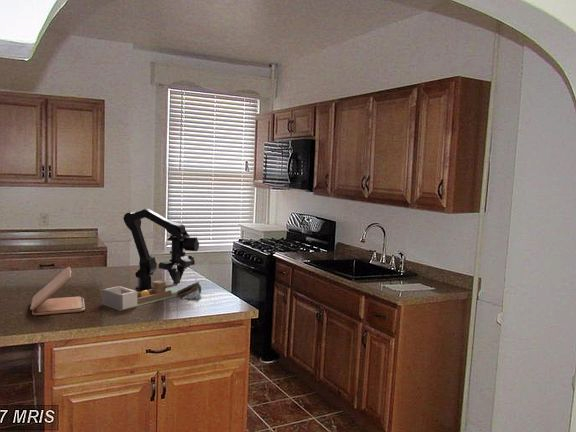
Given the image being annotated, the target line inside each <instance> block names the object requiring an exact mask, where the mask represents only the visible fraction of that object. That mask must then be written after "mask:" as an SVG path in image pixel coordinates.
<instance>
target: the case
mask: <svg viewBox="0 0 576 432" xmlns="http://www.w3.org/2000/svg"><path fill="white" fill-rule="evenodd" d="M72 275H73V271H72V270H71V267H70V266H68V267H66V268H64V269H63V270H62V271H61V272H60V273H59V274H57V275H56V276H55V277H54V278H53V279H52V280H51V281H50V282H49V283H47V284H46V285H45V286H44V287H43V288H42V289H40V290H39V291H38V292H37V293H36V294H35V295H33V297H32V298H31V304H30V307H29V309H30V310H31V311H32V312H31V313H32V315H33V316H45V315H46V316H47V315H55V314H56V315H58V314H69V313H70V314H71V313H82V312H84V311H85V310H86V305H85V304H86V303H85V298H84V297H82V296H77V295H76V296H65V297H63V296H62V297H53V298H50V297H52V296H53V295H54V294H55V293H56V292H58V291H59V290H60V289H61V288H63V287H64V286H65V285H66V284H68V283H69V281H70V280H71V278H72Z"/></svg>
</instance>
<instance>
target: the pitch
mask: <svg viewBox="0 0 576 432" xmlns="http://www.w3.org/2000/svg"><path fill="white" fill-rule="evenodd" d="M146 290H147V291H149V294H150V295H148V296H144V297H141V292H142V291H143V290H142V291H137V306H134V307H130V308H126V309H122V310H119V309H116V308H113V307H110V306H108V305H105V304H102V305H103V306H106V307H109V308H111V309H115V310H118V311H120V312H121V311H124V310H129V309H132V308H136V307H141V306H145V305H147V304H152V303H156V302H159V301H164V300H168V299H171V298H175V297H176V298H177V297H179V296H178V295H177V291H179V290H181V289H180V288H177V287H176V288H175V287H174V286H173V287H168V288H166V290H165V292H161V293H157V294H152V288H150V289H146Z"/></svg>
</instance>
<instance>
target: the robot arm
mask: <svg viewBox="0 0 576 432" xmlns="http://www.w3.org/2000/svg"><path fill="white" fill-rule="evenodd" d="M145 218H146V219H147V220H149V221H150V222H151V221H152V222H153V223H154V224H156V225H159V226H160V227H162V228H164V230H165V231H167V233H168V234H169V235H170V236H169V237H168V238H166V239H167V241H171V249H170V251H169V254H170V255H171V257H170V258H169V261H160V262H159V263H157V260H156V257H155V256H153V257H152V256H151V255H150V253H149V250H148V247H147V243H146V240H145V237H144V235H143V231H142V228H141V227H142V220H143V219H145ZM122 219H123V222H124V224H125V226H126V227H127V229H128V230H130V232H131V235H132V238H133V242H134V245H135V248H136V250H137V253H138V256H139V263H138V265H139V269H138V270H137V271H136V272H135V273H134V274H135V277H136V278H137V286H134V287H135V289H139V290H142V291H143V290H150V289H152V275H154V273H155V271H156V270H157V267H158V269H161V270H166V271H167V272H168V273H169V275H170V278H171V280H172V282H173V281H175V273H176V271H180V281H181V280H182V276H183V274H184V273H185V270H186V269H187V268H189V267H191V266H194V265H195V263H196V262H195V258H194V257H195V256H194V255H187V256H186V252H185V251H187V252H188V251H189V252H198V251H199V248H200V242H199V239H198V237H197V236H194V237H193V236H191V237H190V235H189V233H188V232H187V230H186V227H185V225H184V224H183V223H180V222H178V221H177V222H176V221H172V220H169V219H168V218H165V216H162V215H161V214H159V213H157V212H155V211H153V210H152V209H150V208H144V209H142V210H138V211H130V212H126V213H124V215H123V218H122Z"/></svg>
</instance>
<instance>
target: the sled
mask: <svg viewBox="0 0 576 432" xmlns="http://www.w3.org/2000/svg"><path fill="white" fill-rule="evenodd" d="M172 282H173V283H169V284H167V283H166V281H163V280H155V281H151V286H152V288H151V289H152V294H157V293H161V292H165V290H166V289H168V288H172V287H173V288H174V287H176V286H178V285H179V284H180V283H181V280H180V271H177V270H176V273H175V281H173V280H172Z"/></svg>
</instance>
